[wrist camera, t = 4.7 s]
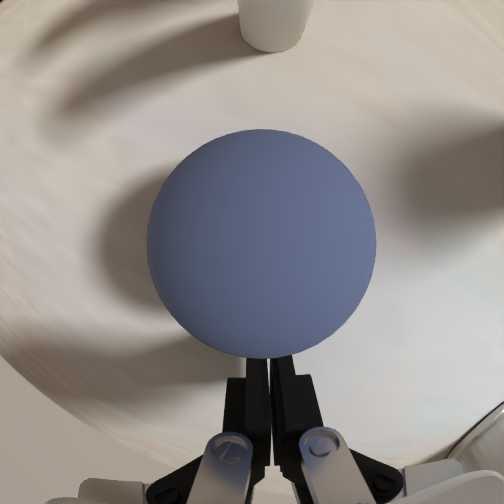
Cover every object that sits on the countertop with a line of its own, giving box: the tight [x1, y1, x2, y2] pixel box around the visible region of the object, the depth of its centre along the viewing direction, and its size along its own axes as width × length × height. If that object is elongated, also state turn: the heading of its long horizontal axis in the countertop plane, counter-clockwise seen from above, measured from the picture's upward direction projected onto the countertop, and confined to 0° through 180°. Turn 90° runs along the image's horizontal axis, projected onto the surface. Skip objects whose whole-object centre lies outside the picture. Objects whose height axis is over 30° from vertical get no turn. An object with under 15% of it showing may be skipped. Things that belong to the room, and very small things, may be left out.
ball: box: [147, 129, 376, 359], centre depth 7 cm, size 6×6×6 cm
